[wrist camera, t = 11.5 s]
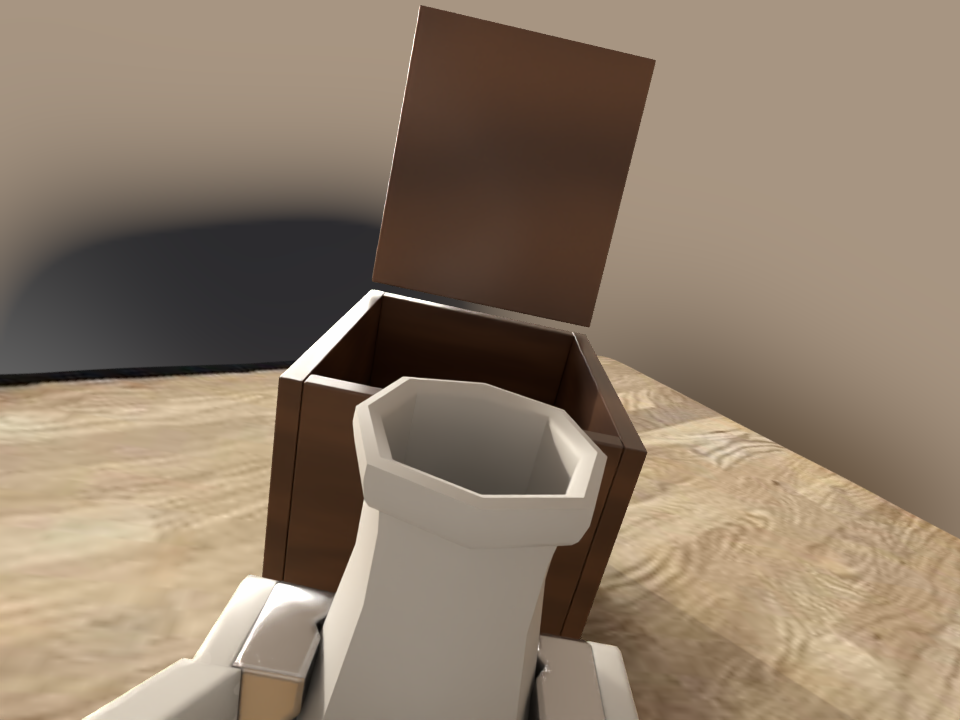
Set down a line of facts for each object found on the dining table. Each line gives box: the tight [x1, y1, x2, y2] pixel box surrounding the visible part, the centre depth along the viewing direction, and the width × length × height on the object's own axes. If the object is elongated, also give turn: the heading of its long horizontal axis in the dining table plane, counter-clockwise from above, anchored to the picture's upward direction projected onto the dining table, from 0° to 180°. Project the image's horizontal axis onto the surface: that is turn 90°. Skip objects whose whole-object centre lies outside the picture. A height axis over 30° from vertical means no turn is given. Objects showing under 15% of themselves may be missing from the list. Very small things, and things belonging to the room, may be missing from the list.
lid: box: [372, 5, 655, 327], centre depth 29 cm, size 14×13×1 cm
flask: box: [297, 377, 607, 720], centre depth 8 cm, size 7×7×10 cm
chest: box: [262, 290, 647, 639], centre depth 26 cm, size 14×13×13 cm
